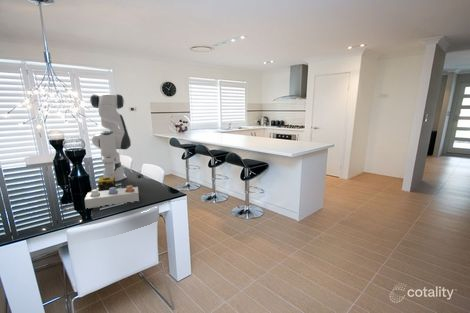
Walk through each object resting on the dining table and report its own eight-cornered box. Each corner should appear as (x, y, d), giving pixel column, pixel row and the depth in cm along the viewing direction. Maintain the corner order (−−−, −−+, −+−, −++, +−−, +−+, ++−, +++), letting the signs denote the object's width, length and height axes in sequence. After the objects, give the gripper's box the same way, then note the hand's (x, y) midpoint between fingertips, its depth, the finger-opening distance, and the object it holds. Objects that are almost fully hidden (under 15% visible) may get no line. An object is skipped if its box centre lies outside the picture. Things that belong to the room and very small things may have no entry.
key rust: (126, 192, 156) (126, 185, 155) (133, 191, 158) (132, 185, 157) (126, 194, 153) (126, 187, 152) (133, 194, 154) (132, 186, 153)
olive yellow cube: (101, 190, 171) (99, 177, 169) (116, 188, 174) (115, 176, 172) (98, 195, 162) (96, 181, 159) (114, 193, 165) (113, 180, 163)
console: (88, 201, 152) (87, 192, 150) (138, 194, 164) (137, 186, 162) (85, 208, 141) (84, 199, 140) (139, 201, 153) (138, 192, 152)
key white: (92, 197, 148) (91, 189, 147) (99, 196, 150) (98, 188, 149) (91, 199, 145) (90, 191, 144) (98, 198, 146) (98, 191, 145)
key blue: (110, 194, 152) (109, 187, 151) (116, 194, 154) (116, 186, 153) (109, 197, 149) (108, 189, 148) (116, 196, 150) (115, 188, 149)
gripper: (105, 154, 154) (107, 174, 157) (102, 161, 135) (104, 183, 138) (115, 153, 156) (117, 173, 159) (114, 160, 138) (116, 182, 141)
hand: (111, 178), depth 149 cm, fingers closed
